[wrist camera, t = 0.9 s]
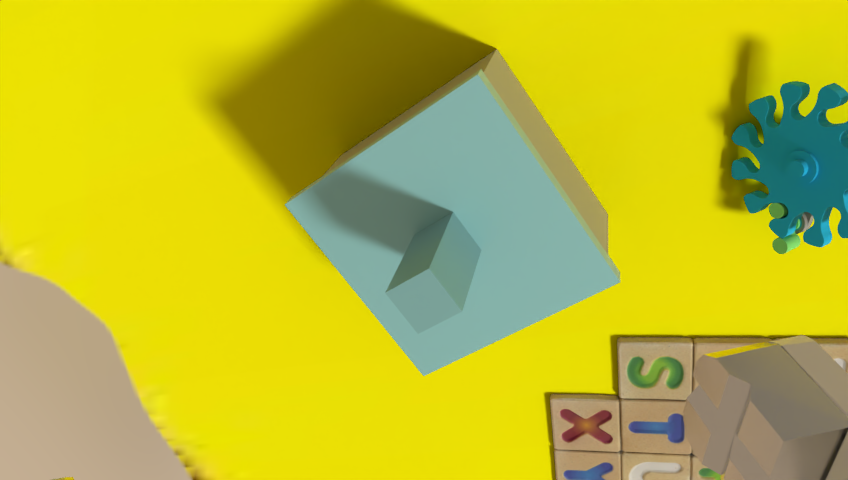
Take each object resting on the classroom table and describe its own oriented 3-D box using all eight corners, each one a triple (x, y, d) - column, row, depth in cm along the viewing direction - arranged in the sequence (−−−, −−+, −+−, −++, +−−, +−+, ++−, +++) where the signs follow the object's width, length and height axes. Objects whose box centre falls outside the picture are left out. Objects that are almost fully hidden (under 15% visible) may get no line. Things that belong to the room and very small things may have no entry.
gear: (750, 59, 44) (915, 128, 37) (810, 42, 47) (974, 103, 40) (702, 212, 50) (835, 295, 44) (757, 190, 53) (891, 264, 46)
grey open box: (496, 48, 48) (478, 81, 41) (607, 214, 52) (608, 269, 45) (340, 155, 54) (302, 199, 47) (449, 297, 58) (428, 357, 51)
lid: (483, 64, 42) (455, 113, 34) (619, 264, 46) (622, 350, 38) (297, 191, 48) (236, 256, 40) (430, 357, 52) (398, 447, 44)
